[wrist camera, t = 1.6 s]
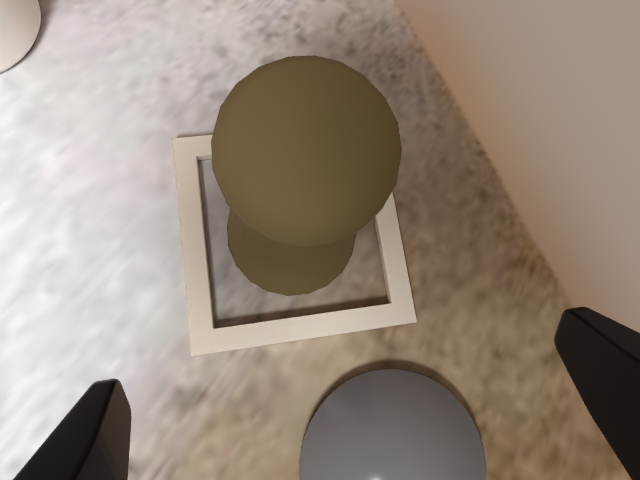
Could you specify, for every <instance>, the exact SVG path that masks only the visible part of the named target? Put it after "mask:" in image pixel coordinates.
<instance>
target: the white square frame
mask: <svg viewBox="0 0 640 480" xmlns="http://www.w3.org/2000/svg"><path fill="white" fill-rule="evenodd" d="M211 139H212V135H205V136H194V137H182V138H172V141H173V153H174V164H175V175H176V187H177V198H178V209H179V221H180V232H181V243H182V255H183V266H184V277H185V288H186V300H187V311H188V322H189V334H190V345H191V356H196V355H203V354H210V353H216V352H223V351H230V350H236V349H243V348H249V347H256V346H263V345H269V344H276V343H283V342H289V341H296V340H303V339H309V338H316V337H322V336H329V335H336V334H342V333H349V332H356V331H362V330H369V329H376V328H382V327H389V326H396V325H402V324H409V323H415V322H417V320H416V315H415V309H414V304H413V299H412V293H411V288H410V283H409V277H408V272H407V266H406V261H405V256H404V250H403V245H402V240H401V234H400V229H399V224H398V218H397V213H396V208H395V202H394V197H393V192H391V194H390V196H389V198H388V200H387V201H386V203H385V205H384V207H383V209H382V210H381V211H380V212H379V213H378V214H377V215H376V216H375V217H374V222H375V228H376V233H377V239H378V245H379V250H380V256H381V262H382V267H383V273H384V279H385V284H386V290H387V296H388V301H389V304H384V305H377V306H370V307H363V308H356V309H349V310H342V311H335V312H328V313H321V314H314V315H307V316H300V317H293V318H286V319H279V320H272V321H265V322H258V323H252V324H245V325H238V326H231V327H224V328H217V329H214V320H213V310H212V300H211V290H210V280H209V270H208V260H207V250H206V240H205V230H204V220H203V210H202V199H201V189H200V179H199V169H198V160H207V159H212V151H211Z"/></svg>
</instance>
